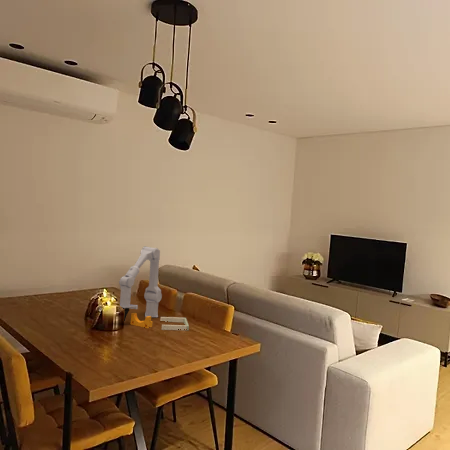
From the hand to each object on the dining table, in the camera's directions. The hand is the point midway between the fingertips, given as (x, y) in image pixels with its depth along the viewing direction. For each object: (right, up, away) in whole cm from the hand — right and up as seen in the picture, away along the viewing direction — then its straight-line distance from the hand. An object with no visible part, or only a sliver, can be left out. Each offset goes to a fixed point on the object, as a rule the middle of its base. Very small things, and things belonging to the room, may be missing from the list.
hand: (123, 320), depth 245 cm
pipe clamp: (+10, -3, +1) cm, 10 cm away
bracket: (+28, -4, +6) cm, 28 cm away
